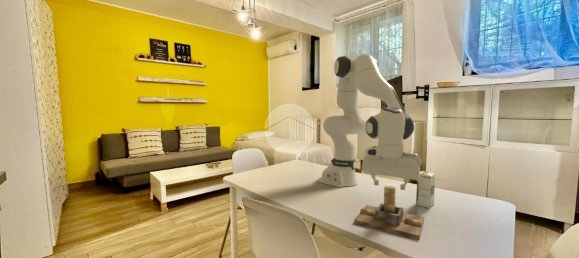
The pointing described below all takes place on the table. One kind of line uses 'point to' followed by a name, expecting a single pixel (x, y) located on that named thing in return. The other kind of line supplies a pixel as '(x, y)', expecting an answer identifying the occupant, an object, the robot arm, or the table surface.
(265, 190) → the table surface
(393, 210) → the pin
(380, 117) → the robot arm
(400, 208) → the wooden socket board
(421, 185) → the syrup box
